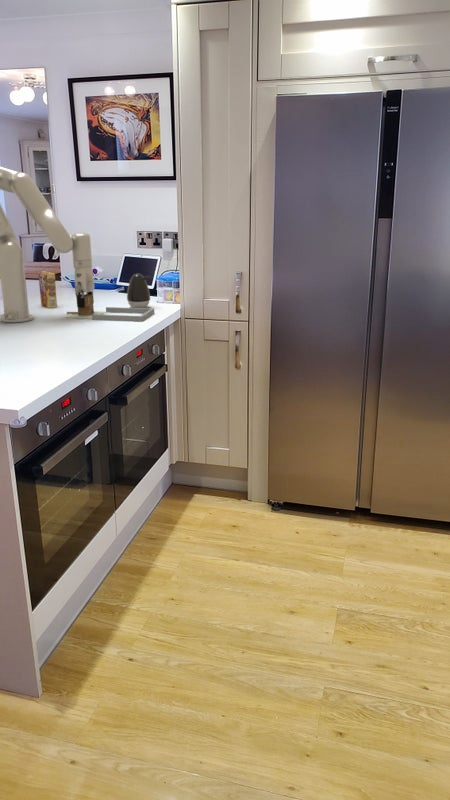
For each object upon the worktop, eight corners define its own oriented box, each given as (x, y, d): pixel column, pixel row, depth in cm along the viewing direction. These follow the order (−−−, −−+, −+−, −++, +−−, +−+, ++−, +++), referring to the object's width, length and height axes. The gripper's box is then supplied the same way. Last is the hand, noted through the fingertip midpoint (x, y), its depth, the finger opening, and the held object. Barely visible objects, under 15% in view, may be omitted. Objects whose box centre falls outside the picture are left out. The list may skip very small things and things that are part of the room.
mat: (93, 318, 256) (93, 318, 256) (66, 317, 258) (66, 317, 258) (105, 312, 269) (105, 311, 269) (79, 311, 271) (79, 310, 271)
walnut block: (89, 315, 260) (88, 296, 258) (64, 314, 262) (63, 295, 260) (93, 313, 265) (92, 294, 263) (69, 312, 267) (68, 293, 264)
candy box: (58, 307, 280) (55, 273, 275) (49, 308, 278) (45, 273, 273) (49, 304, 287) (46, 271, 282) (40, 305, 284) (37, 271, 279)
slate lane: (142, 321, 251) (142, 316, 250) (92, 319, 254) (91, 314, 254) (154, 313, 267) (154, 308, 266) (107, 311, 270) (106, 307, 270)
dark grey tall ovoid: (146, 310, 273) (145, 275, 269) (124, 309, 275) (122, 274, 270) (153, 306, 283) (152, 272, 278) (132, 305, 285) (130, 271, 280)
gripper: (83, 266, 248) (86, 309, 253) (98, 261, 264) (101, 302, 269) (65, 266, 249) (68, 308, 255) (82, 261, 265) (85, 301, 271)
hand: (85, 305), depth 262 cm, fingers open, 9 cm apart
